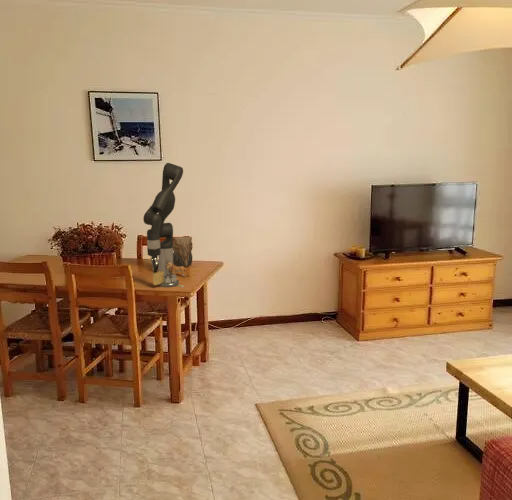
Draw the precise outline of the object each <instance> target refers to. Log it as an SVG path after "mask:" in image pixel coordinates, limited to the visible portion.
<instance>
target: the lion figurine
mask: <svg viewBox="0 0 512 500" xmlns="http://www.w3.org/2000/svg"><path fill="white" fill-rule="evenodd" d="M166 268H167V269H168V270H169V271H170V272H172V273H173V274H176V273H181V274H182V275H181V277H183V278H187V276H188V277H189V276H190V274H188V273H187V270H186V269H187V268H184V267H183V266H181V267H177V266H176V265H174V264H172V263H167V265H166ZM173 274H172V275H173Z"/></svg>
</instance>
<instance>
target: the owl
mask: <svg viewBox="0 0 512 500" xmlns="http://www.w3.org/2000/svg"><path fill="white" fill-rule="evenodd" d="M192 240H193V239H192V236H185V235H184V236H179V237H176V236H175V237H174V236H173V264H174V265H176V266H177V267H181V266H183V267H184V268H185V269H187V268H189V267H190V266H192V263H193V254H192V250H193V241H192Z"/></svg>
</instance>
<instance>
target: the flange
mask: <svg viewBox="0 0 512 500" xmlns="http://www.w3.org/2000/svg"><path fill="white" fill-rule="evenodd" d="M170 275H171V274H167V275H166V278H167V276H169V278H170ZM179 284H180V283H179V279H177V281H176V282H173V283H161V284H157V285H158V286H159V287H160V288H174V287H175V288H176V287H178V286H179Z"/></svg>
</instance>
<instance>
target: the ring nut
mask: <svg viewBox="0 0 512 500" xmlns="http://www.w3.org/2000/svg"><path fill="white" fill-rule="evenodd" d="M167 274H170V273H167ZM177 277H178V276H177V274H176V273H175V274H170V278H169V276H167V278H166V275H164V271H158V270H157V272H154V273H153V272H152V285H153V286H157V285H158V284H161V283H173V282H176V281H177V280H178V278H177Z"/></svg>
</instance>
